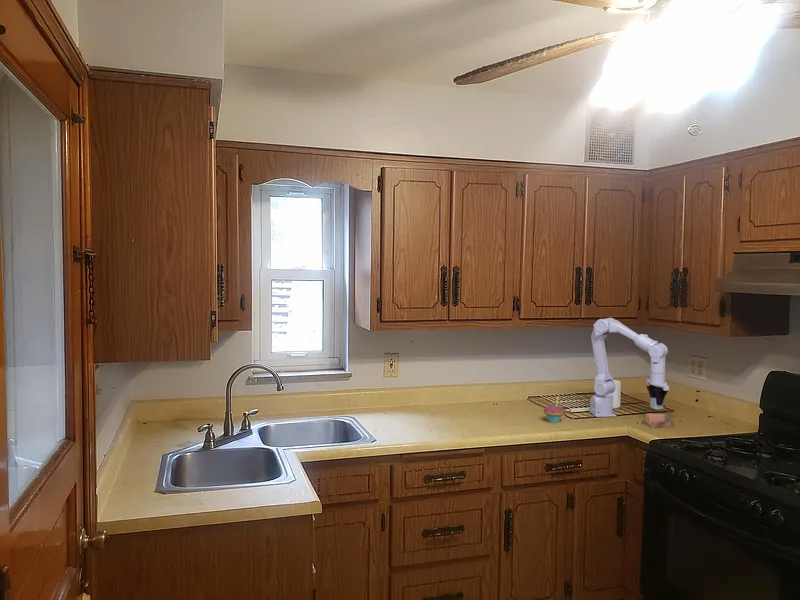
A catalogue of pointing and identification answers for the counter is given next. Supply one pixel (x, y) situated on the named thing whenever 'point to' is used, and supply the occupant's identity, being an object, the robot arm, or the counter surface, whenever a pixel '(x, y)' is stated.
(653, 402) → the pale blue-grey cube
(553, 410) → the cupcake
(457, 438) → the counter surface
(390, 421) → the counter surface
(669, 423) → the jig
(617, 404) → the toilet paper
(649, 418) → the two-tone peach block
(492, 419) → the counter surface
